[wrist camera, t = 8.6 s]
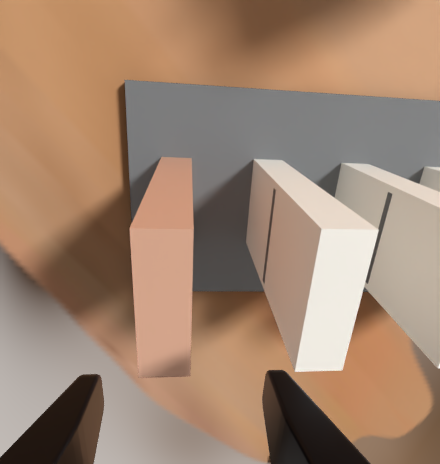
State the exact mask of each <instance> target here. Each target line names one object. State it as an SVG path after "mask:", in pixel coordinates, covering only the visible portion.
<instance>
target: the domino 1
mask: <svg viewBox="0 0 440 464" xmlns="http://www.w3.org/2000/svg"><path fill="white" fill-rule="evenodd" d="M193 238H194V223H193V187H192V158H177V157H161V159H160V161H159V163H158V166H157V168H156V170H155V172H154V175H153V177H152V179H151V181H150V184H149V186H148V188H147V190H146V193H145V195H144V197H143V199H142V202H141V204H140V206H139V208H138V211H137V213H136V215H135V217H134V219H133V222H132V224H131V226H130V245H131V262H132V278H133V295H134V312H135V329H136V346H137V362H138V378H151V377H186V376H190V369H191V326H192V282H193Z"/></svg>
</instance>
